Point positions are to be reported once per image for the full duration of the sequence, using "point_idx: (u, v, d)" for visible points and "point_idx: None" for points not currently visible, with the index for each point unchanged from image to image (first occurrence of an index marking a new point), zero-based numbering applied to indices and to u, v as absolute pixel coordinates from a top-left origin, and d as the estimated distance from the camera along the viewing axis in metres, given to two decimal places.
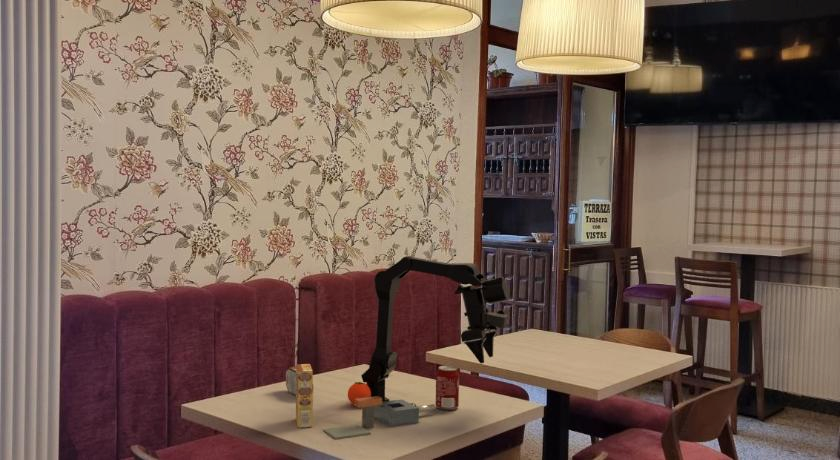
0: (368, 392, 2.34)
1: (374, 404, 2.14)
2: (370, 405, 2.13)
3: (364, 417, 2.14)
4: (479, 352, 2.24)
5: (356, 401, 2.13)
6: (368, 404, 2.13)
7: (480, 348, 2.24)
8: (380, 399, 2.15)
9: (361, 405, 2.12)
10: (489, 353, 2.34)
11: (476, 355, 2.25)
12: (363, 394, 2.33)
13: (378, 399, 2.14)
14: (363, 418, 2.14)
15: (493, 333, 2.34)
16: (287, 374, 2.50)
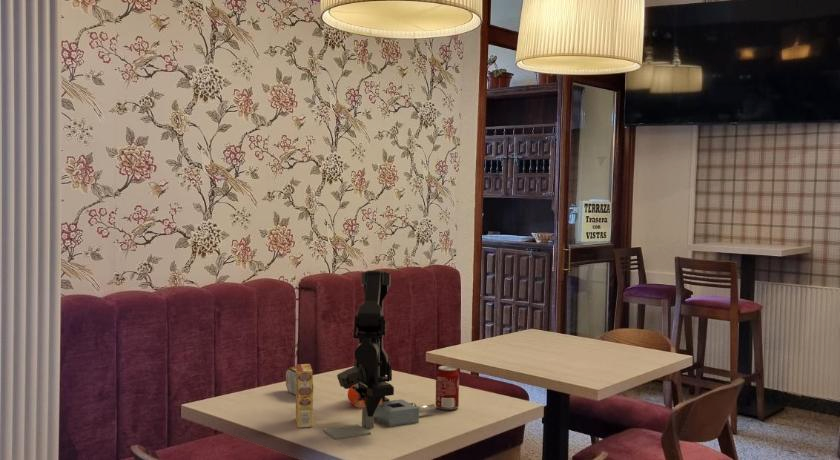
0: None
1: None
2: None
3: (364, 417, 2.14)
4: None
5: (356, 401, 2.13)
6: None
7: None
8: None
9: (361, 405, 2.12)
10: None
11: None
12: None
13: None
14: (363, 418, 2.14)
15: None
16: (287, 374, 2.50)
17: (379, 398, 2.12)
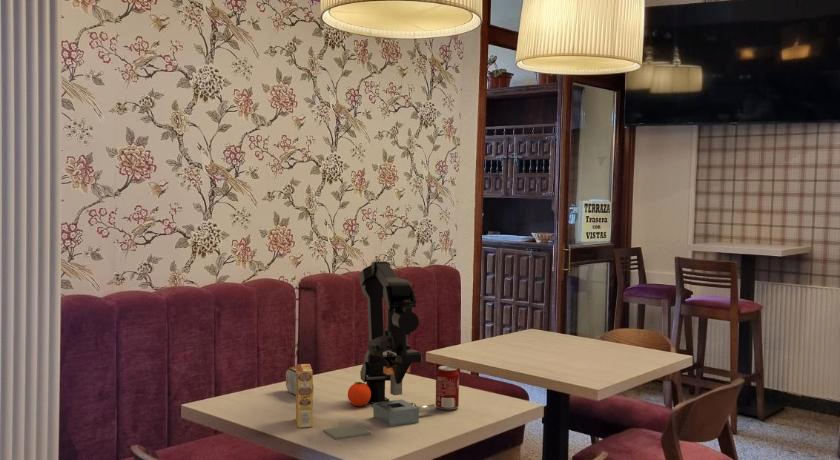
0: (368, 392, 2.34)
1: None
2: None
3: (392, 384, 2.21)
4: None
5: (385, 368, 2.20)
6: None
7: None
8: None
9: (390, 372, 2.19)
10: None
11: None
12: (363, 394, 2.33)
13: None
14: (391, 385, 2.21)
15: None
16: (287, 374, 2.50)
17: (407, 366, 2.20)
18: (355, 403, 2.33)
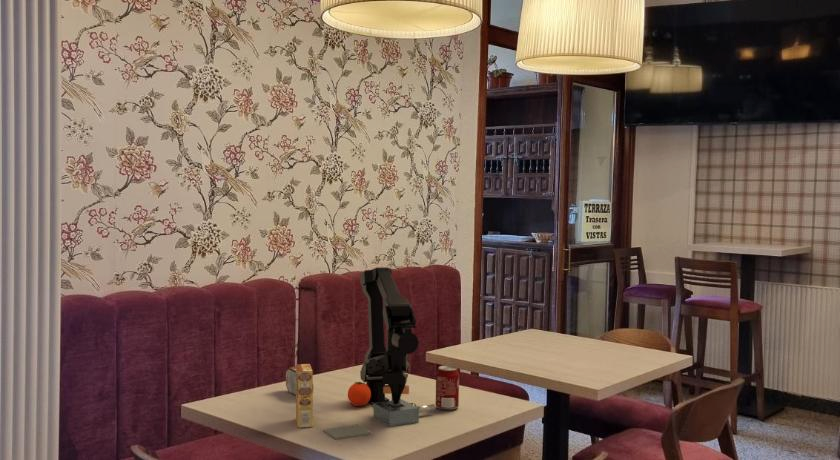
0: (368, 392, 2.34)
1: None
2: None
3: None
4: None
5: (383, 387, 2.22)
6: None
7: None
8: (407, 388, 2.20)
9: (386, 391, 2.21)
10: None
11: None
12: (363, 394, 2.33)
13: (404, 388, 2.20)
14: None
15: None
16: (287, 374, 2.50)
17: (402, 387, 2.19)
18: (355, 403, 2.33)
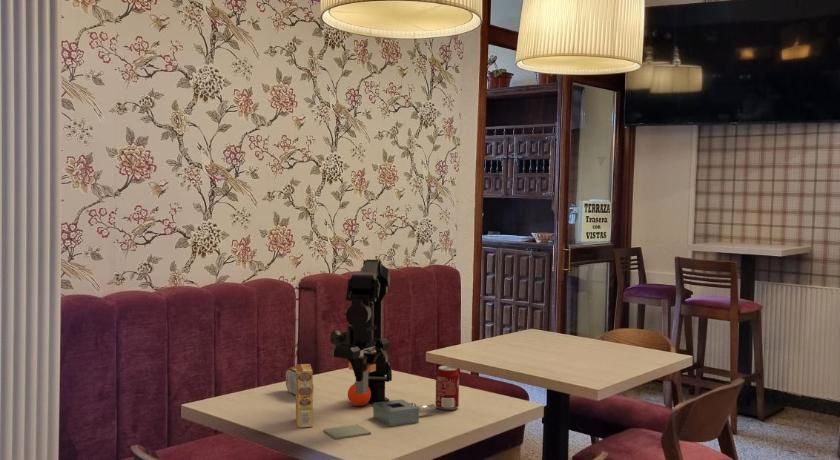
0: (368, 392, 2.34)
1: None
2: None
3: None
4: None
5: None
6: None
7: None
8: (369, 366, 2.09)
9: (351, 367, 2.12)
10: None
11: None
12: (363, 394, 2.33)
13: (367, 366, 2.09)
14: None
15: None
16: (287, 374, 2.50)
17: (361, 363, 2.08)
18: (355, 403, 2.33)
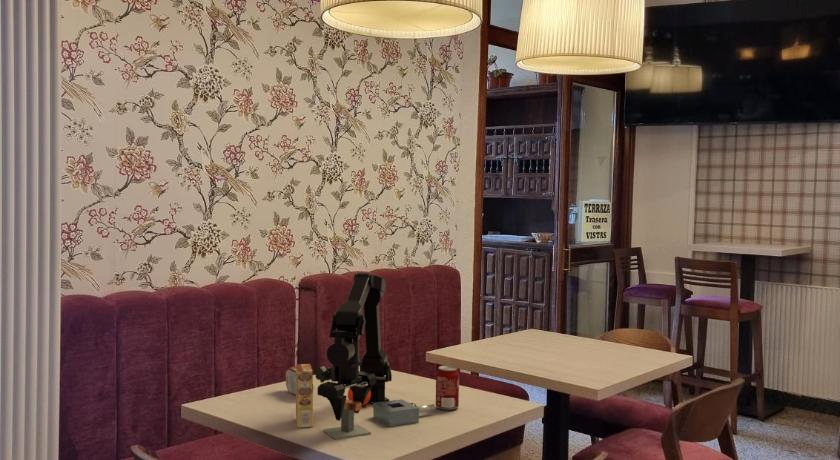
0: None
1: (349, 408, 2.07)
2: (345, 408, 2.08)
3: None
4: None
5: None
6: None
7: None
8: (354, 405, 2.07)
9: None
10: None
11: None
12: None
13: (352, 404, 2.07)
14: None
15: None
16: (287, 374, 2.50)
17: (340, 403, 2.03)
18: None
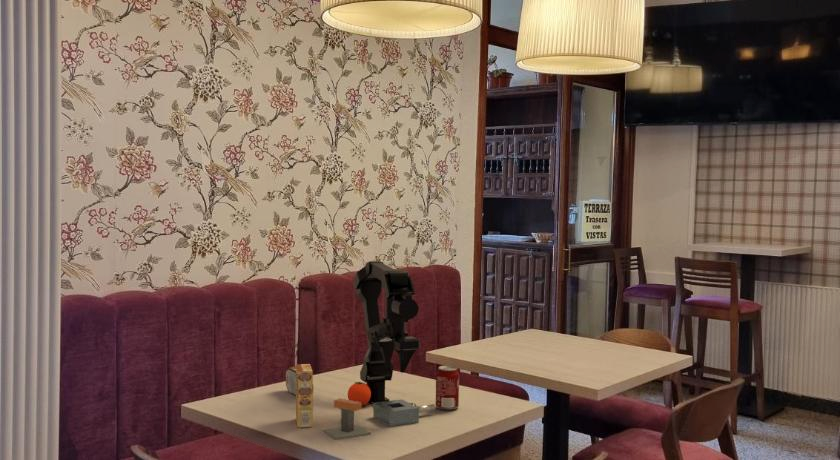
0: (368, 392, 2.34)
1: (349, 408, 2.07)
2: (345, 408, 2.08)
3: None
4: None
5: None
6: (343, 406, 2.08)
7: None
8: (354, 405, 2.07)
9: (337, 405, 2.09)
10: None
11: None
12: (363, 394, 2.33)
13: (352, 404, 2.07)
14: None
15: None
16: (287, 374, 2.50)
17: (411, 354, 2.22)
18: None
